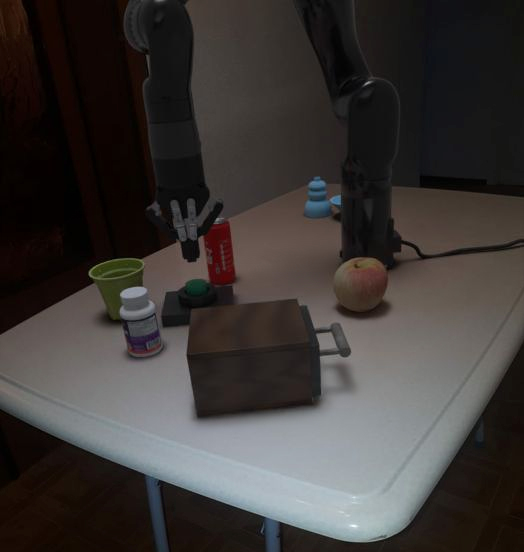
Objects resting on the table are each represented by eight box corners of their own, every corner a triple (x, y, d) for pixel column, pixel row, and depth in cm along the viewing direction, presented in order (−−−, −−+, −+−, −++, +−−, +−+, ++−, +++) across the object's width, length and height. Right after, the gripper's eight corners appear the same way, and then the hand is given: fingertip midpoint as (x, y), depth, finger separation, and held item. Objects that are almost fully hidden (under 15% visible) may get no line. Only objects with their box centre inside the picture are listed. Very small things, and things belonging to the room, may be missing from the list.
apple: (390, 297, 95) (391, 253, 91) (382, 321, 88) (383, 273, 84) (340, 294, 98) (339, 251, 94) (328, 317, 91) (327, 271, 87)
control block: (233, 296, 101) (231, 275, 99) (234, 320, 93) (232, 298, 91) (168, 302, 101) (164, 282, 99) (163, 327, 92) (158, 305, 90)
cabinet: (300, 355, 81) (297, 298, 76) (313, 405, 70) (310, 341, 65) (200, 365, 81) (191, 309, 76) (197, 417, 70) (186, 354, 65)
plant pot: (107, 331, 93) (95, 283, 89) (95, 311, 100) (83, 266, 96) (160, 316, 96) (151, 269, 92) (144, 298, 104) (135, 254, 100)
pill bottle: (130, 343, 88) (117, 286, 84) (164, 339, 89) (153, 282, 84) (126, 360, 84) (112, 301, 79) (162, 356, 84) (150, 297, 79)
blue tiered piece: (380, 212, 138) (380, 175, 134) (361, 225, 131) (361, 186, 126) (316, 206, 147) (315, 171, 143) (296, 218, 140) (294, 181, 136)
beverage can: (232, 285, 105) (225, 224, 100) (206, 285, 107) (197, 224, 101) (238, 275, 110) (232, 215, 104) (213, 275, 111) (205, 216, 105)
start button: (207, 287, 97) (206, 277, 96) (207, 295, 93) (205, 285, 93) (187, 289, 97) (185, 279, 96) (186, 297, 93) (184, 287, 93)
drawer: (338, 347, 80) (337, 301, 76) (355, 391, 70) (354, 341, 66) (215, 360, 80) (208, 315, 76) (214, 406, 70) (206, 356, 66)
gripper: (128, 160, 80) (150, 273, 89) (219, 152, 80) (232, 264, 89) (135, 151, 87) (154, 257, 95) (220, 143, 87) (231, 249, 95)
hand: (192, 260), depth 92 cm, fingers closed
